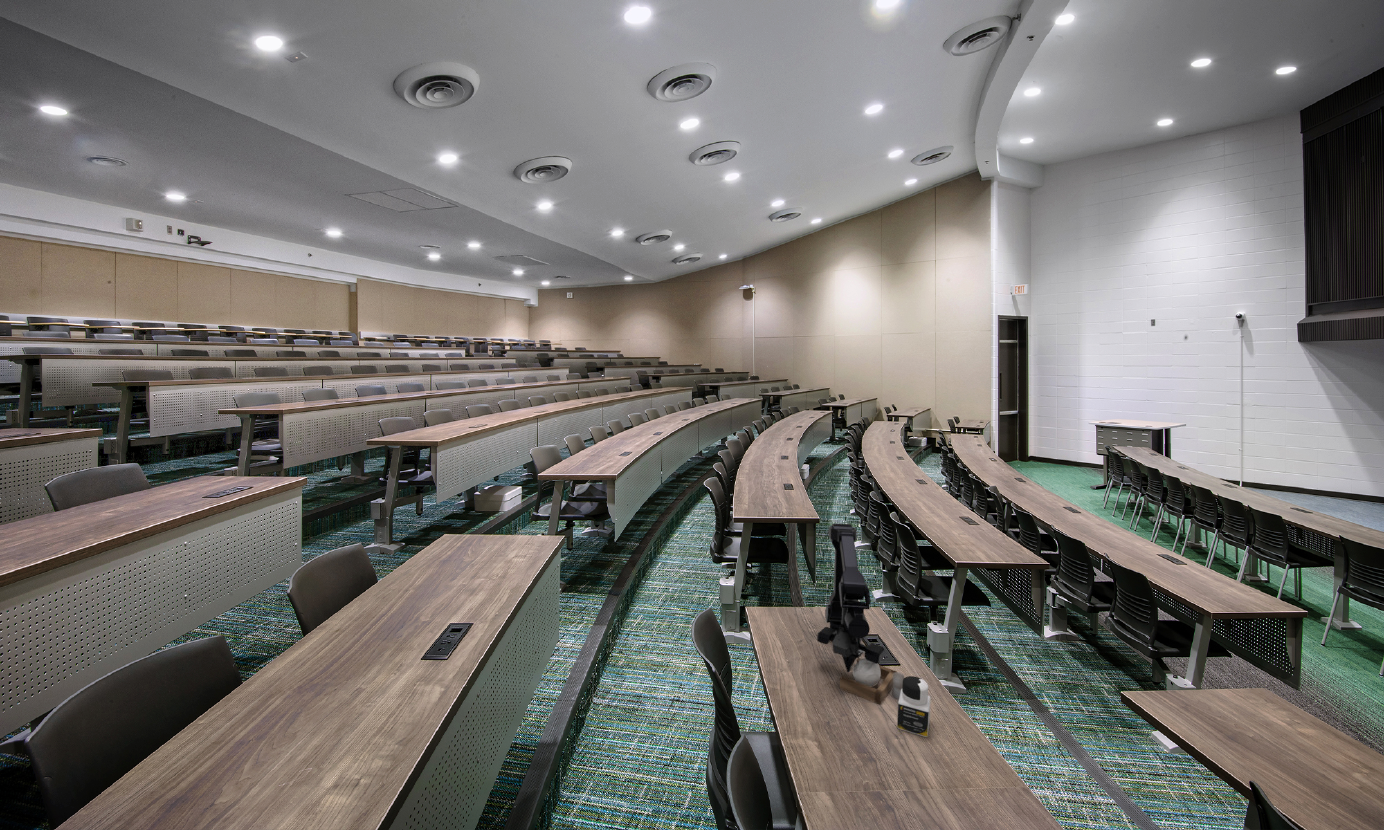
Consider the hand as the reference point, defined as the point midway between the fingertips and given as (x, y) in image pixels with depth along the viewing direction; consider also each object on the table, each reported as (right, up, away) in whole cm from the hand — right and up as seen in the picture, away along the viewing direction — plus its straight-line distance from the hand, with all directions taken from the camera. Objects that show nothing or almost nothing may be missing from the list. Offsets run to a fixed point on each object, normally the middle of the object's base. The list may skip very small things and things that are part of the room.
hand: (848, 671), depth 156 cm
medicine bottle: (+11, -4, -21) cm, 24 cm away
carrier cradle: (+6, -2, -5) cm, 8 cm away
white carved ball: (+4, -2, -3) cm, 6 cm away
